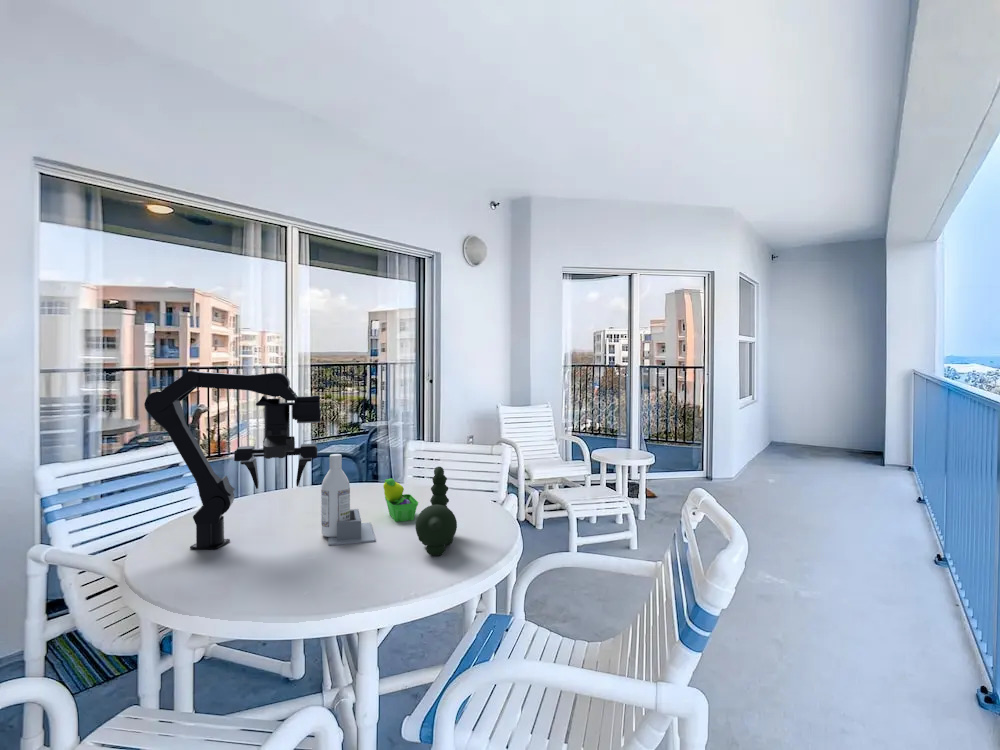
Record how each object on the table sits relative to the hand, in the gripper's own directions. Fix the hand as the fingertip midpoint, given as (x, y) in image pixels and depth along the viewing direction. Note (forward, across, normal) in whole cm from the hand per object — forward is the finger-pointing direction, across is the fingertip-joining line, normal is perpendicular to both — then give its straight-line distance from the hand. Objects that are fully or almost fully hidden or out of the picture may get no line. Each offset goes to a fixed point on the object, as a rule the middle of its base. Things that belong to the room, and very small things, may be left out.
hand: (277, 487), depth 141 cm
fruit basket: (+13, +31, +13) cm, 36 cm away
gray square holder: (+13, +17, 0) cm, 22 cm away
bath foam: (+13, +14, 0) cm, 19 cm away
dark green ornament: (+13, +37, -16) cm, 42 cm away
